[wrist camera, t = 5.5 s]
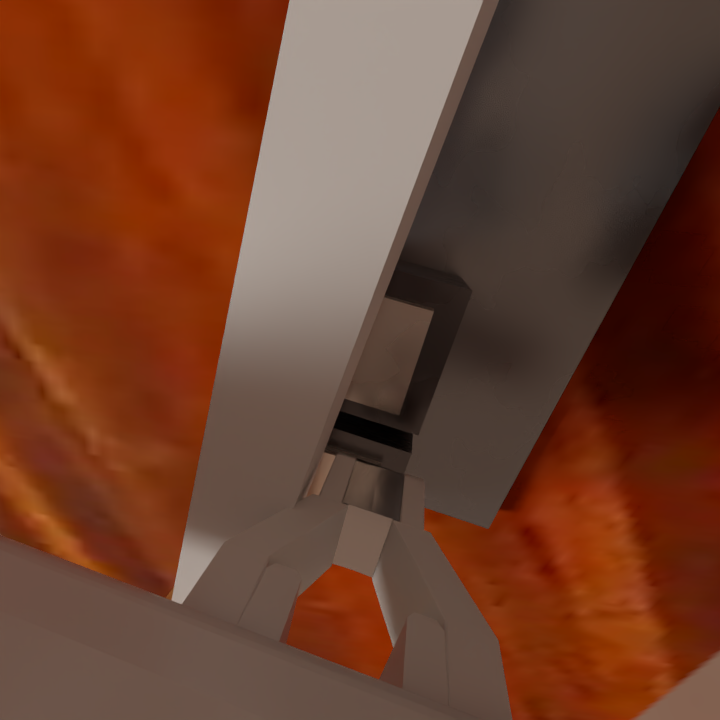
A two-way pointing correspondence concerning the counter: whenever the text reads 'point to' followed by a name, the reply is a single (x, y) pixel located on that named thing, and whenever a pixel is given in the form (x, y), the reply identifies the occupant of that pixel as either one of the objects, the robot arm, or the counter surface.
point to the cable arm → (322, 242)
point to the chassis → (549, 213)
